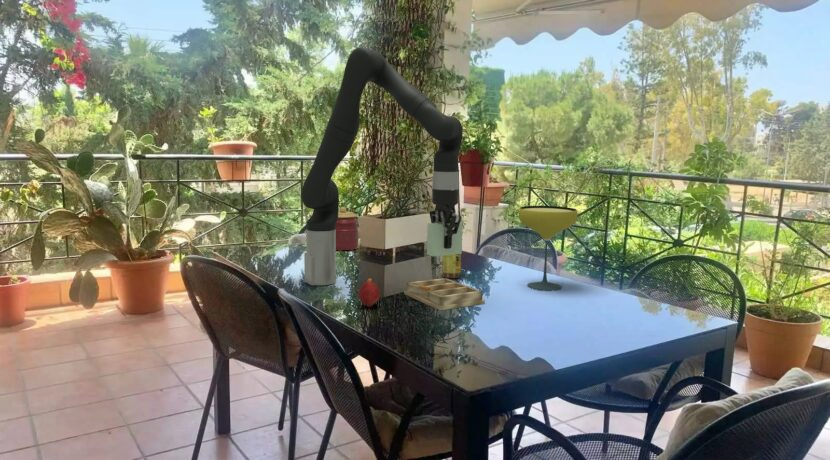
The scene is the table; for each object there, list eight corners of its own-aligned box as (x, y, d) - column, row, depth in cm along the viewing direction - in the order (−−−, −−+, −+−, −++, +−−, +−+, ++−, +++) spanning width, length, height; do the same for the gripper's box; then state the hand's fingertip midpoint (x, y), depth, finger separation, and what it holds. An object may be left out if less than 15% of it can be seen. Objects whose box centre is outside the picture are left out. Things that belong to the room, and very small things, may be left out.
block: (432, 256, 174) (432, 224, 173) (426, 254, 177) (427, 223, 175) (461, 253, 179) (462, 222, 178) (456, 251, 182) (456, 221, 180)
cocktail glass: (584, 286, 197) (588, 209, 193) (554, 296, 184) (558, 213, 180) (535, 277, 209) (538, 204, 205) (504, 286, 196) (507, 208, 192)
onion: (363, 310, 166) (363, 281, 165) (355, 305, 171) (355, 277, 170) (383, 308, 169) (383, 279, 168) (374, 303, 174) (374, 275, 173)
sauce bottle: (459, 279, 204) (460, 220, 202) (440, 278, 206) (441, 219, 203) (461, 275, 211) (463, 217, 208) (443, 274, 212) (445, 217, 209)
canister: (323, 250, 254) (323, 208, 251) (332, 245, 267) (332, 204, 264) (354, 252, 252) (354, 209, 249) (362, 246, 265) (362, 205, 262)
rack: (439, 310, 167) (440, 294, 167) (404, 294, 184) (404, 280, 184) (484, 303, 175) (485, 288, 174) (446, 288, 192) (446, 275, 191)
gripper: (421, 186, 179) (420, 244, 182) (447, 189, 167) (446, 252, 170) (443, 185, 183) (442, 242, 185) (470, 189, 171) (469, 250, 173)
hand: (444, 247), depth 177 cm, fingers closed on block, 3 cm apart
